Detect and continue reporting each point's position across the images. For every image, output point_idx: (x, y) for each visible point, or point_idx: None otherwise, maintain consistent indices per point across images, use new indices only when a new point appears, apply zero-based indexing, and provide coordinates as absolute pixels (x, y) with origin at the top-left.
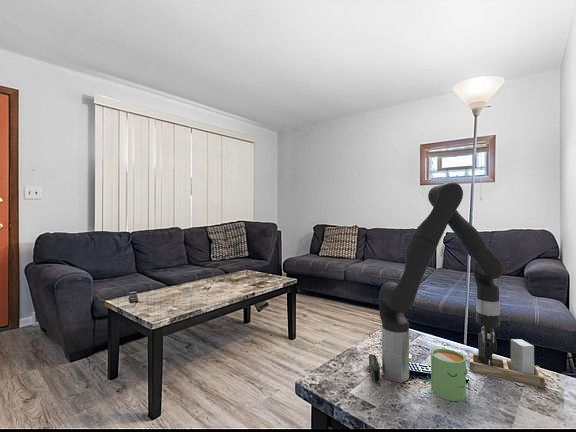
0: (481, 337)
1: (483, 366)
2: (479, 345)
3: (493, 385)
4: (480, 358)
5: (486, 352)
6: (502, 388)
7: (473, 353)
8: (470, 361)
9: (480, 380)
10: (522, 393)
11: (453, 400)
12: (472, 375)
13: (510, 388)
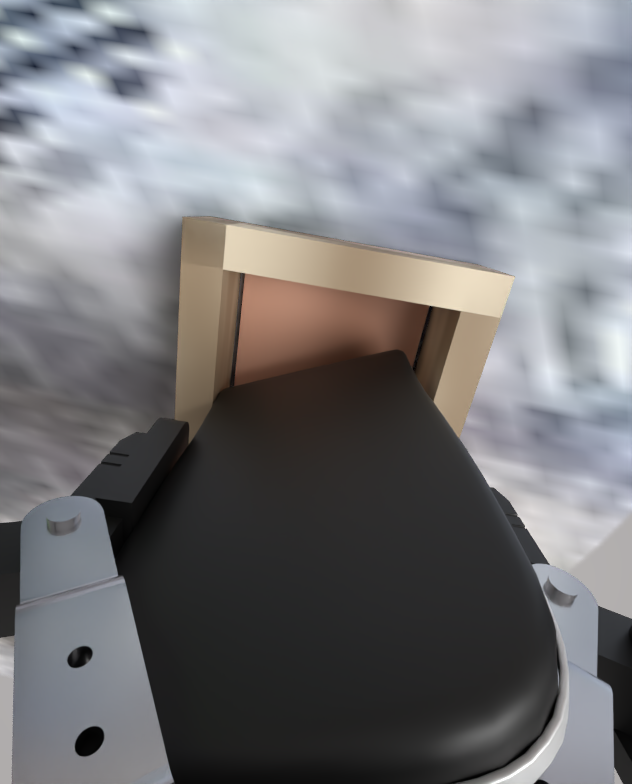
0: (327, 612)
1: (179, 360)
2: (397, 442)
3: (14, 370)
4: (346, 371)
5: (84, 482)
6: (6, 422)
7: (494, 320)
8: (220, 233)
9: (43, 282)
10: (16, 521)
11: None
12: (109, 224)
13: (43, 473)
